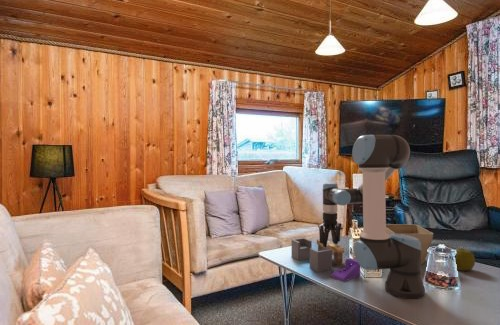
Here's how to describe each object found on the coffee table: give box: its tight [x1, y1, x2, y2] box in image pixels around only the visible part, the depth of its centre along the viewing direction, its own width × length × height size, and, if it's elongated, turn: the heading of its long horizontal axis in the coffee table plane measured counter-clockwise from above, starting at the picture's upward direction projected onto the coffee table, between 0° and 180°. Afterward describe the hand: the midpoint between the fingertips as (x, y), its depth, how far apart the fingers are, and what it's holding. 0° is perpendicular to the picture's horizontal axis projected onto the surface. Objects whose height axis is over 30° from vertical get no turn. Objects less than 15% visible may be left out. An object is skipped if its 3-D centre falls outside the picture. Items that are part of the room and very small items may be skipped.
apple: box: [455, 248, 476, 272], centre depth 165 cm, size 10×10×11 cm
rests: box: [317, 244, 344, 266], centre depth 181 cm, size 17×3×6 cm, turn 24°
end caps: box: [291, 237, 333, 273], centre depth 176 cm, size 24×8×10 cm, turn 24°
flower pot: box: [386, 223, 434, 265], centre depth 178 cm, size 19×19×17 cm
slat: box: [316, 238, 345, 254], centre depth 181 cm, size 18×4×2 cm, turn 24°
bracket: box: [331, 258, 361, 282], centre depth 158 cm, size 12×7×7 cm, turn 127°
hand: (329, 255), depth 181 cm, fingers closed on slat, 4 cm apart
